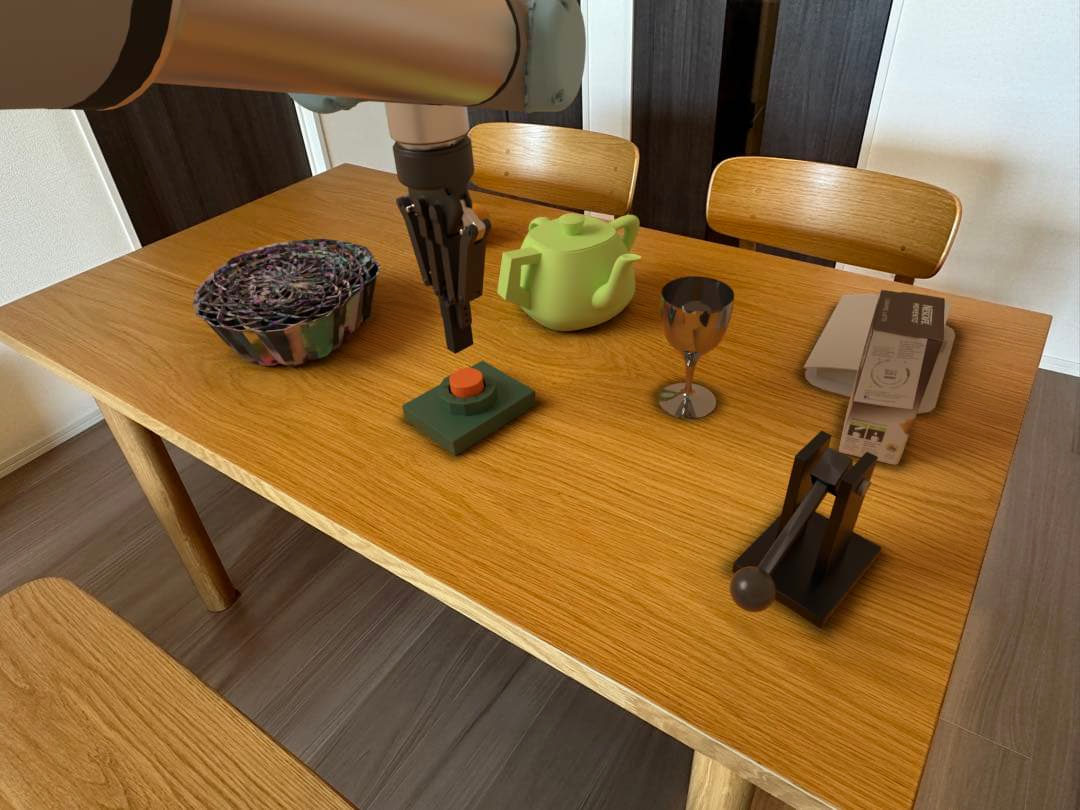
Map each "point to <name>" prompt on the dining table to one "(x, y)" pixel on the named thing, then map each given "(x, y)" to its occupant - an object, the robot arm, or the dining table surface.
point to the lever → (788, 535)
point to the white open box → (845, 344)
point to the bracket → (819, 540)
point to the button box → (469, 409)
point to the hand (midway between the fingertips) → (460, 346)
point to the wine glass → (693, 337)
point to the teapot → (572, 270)
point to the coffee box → (893, 374)
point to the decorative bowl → (290, 299)
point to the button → (466, 383)
